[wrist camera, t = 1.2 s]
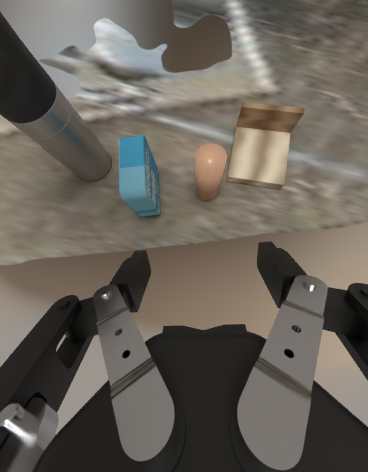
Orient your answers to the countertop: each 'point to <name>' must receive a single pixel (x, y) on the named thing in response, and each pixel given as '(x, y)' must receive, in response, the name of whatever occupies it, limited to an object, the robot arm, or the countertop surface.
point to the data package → (138, 176)
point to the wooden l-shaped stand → (262, 144)
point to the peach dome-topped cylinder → (209, 170)
